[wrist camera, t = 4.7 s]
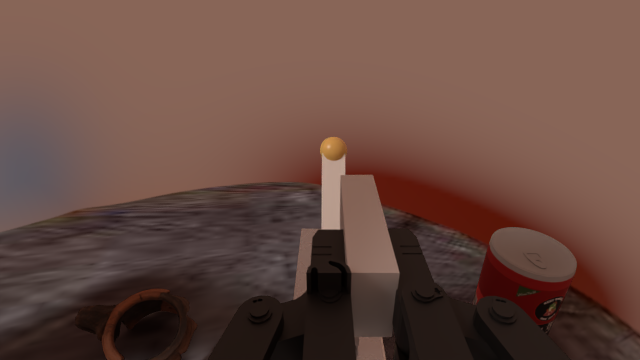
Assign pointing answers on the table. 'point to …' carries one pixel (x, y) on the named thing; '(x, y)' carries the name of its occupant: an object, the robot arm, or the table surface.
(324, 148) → the toggle
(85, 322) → the pottery mug
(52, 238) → the table surface
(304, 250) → the switch box
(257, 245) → the table surface
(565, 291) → the canned food
